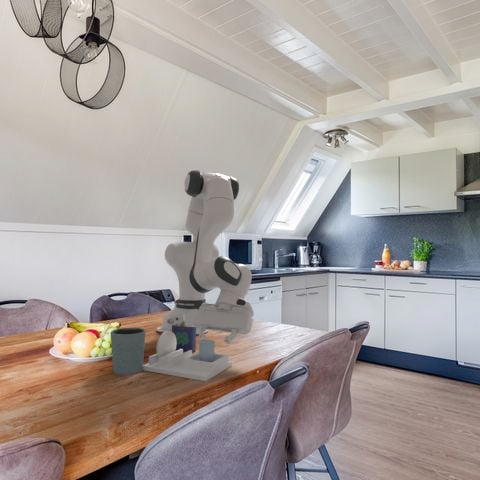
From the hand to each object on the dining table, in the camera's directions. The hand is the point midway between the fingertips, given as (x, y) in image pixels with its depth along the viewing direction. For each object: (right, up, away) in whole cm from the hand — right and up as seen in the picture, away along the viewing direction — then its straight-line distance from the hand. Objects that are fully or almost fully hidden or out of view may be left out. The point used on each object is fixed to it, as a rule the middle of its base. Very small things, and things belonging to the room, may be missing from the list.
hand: (213, 341), depth 123 cm
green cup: (-25, -7, -7) cm, 27 cm away
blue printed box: (-12, -8, +16) cm, 21 cm away
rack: (-8, -7, -4) cm, 11 cm away
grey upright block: (-2, -6, -6) cm, 8 cm away
